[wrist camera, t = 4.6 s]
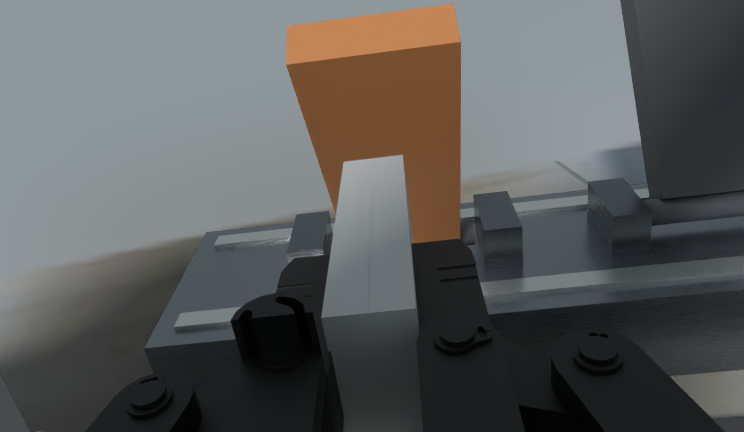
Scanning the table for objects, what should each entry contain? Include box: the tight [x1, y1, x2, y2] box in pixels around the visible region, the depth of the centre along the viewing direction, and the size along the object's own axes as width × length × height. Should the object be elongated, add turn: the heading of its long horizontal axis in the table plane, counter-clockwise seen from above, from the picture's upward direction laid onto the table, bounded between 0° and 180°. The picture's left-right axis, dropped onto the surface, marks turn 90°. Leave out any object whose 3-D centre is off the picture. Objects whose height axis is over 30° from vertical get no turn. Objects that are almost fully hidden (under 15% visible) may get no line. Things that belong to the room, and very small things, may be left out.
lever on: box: [621, 0, 744, 226], centre depth 28 cm, size 6×2×13 cm
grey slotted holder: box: [144, 178, 744, 389], centre depth 29 cm, size 30×10×6 cm, turn 89°
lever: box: [286, 4, 475, 246], centre depth 24 cm, size 6×2×13 cm
